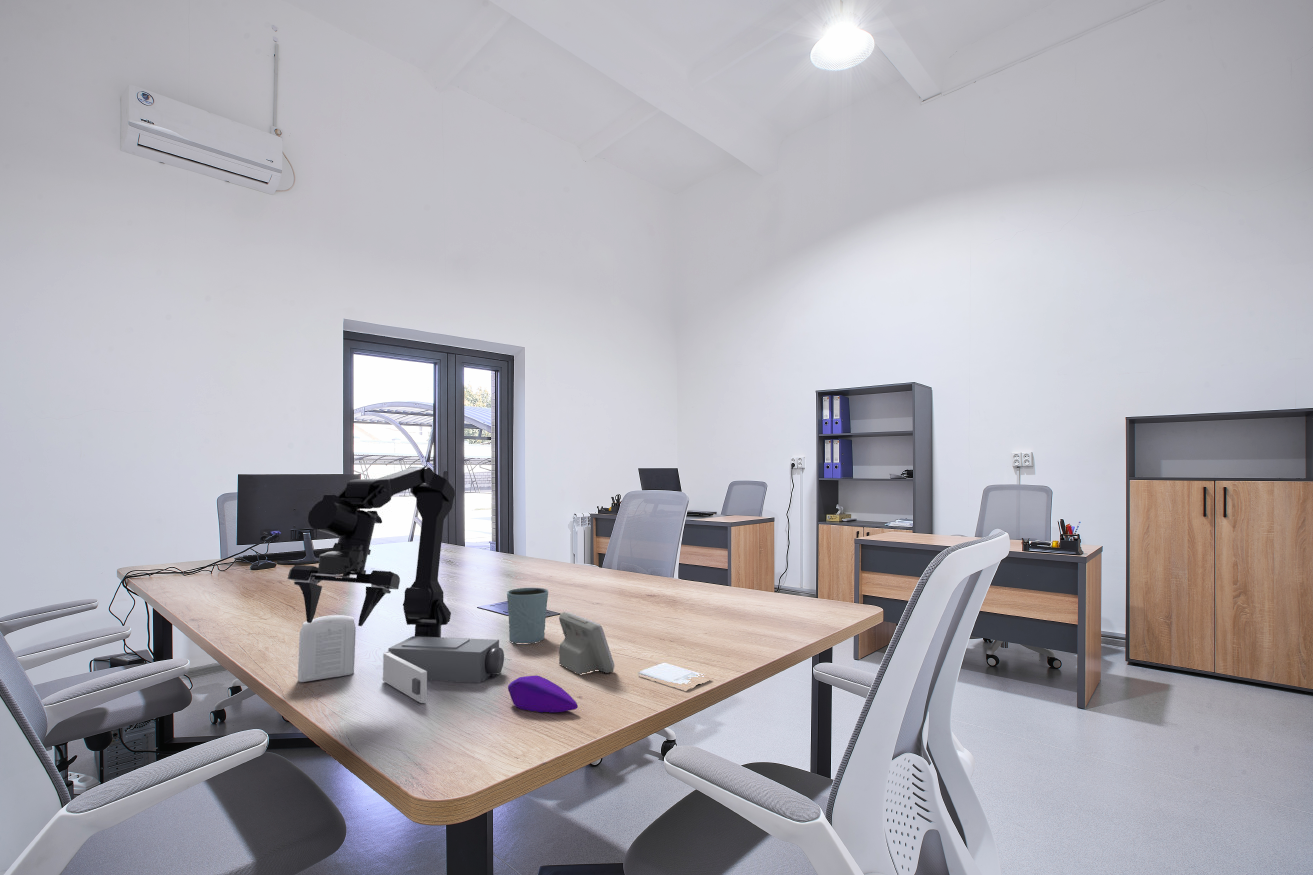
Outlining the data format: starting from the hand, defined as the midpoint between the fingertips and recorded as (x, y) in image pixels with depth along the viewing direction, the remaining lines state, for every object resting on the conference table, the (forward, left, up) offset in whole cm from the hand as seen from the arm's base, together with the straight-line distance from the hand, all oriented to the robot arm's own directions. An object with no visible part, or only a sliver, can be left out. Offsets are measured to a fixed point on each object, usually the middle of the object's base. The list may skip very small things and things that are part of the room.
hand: (334, 624), depth 112 cm
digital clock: (-25, +42, -14) cm, 50 cm away
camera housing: (-16, +13, -14) cm, 25 cm away
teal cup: (-43, +21, -14) cm, 50 cm away
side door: (-5, +11, -13) cm, 18 cm away
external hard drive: (-20, +61, -15) cm, 66 cm away
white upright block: (-11, -10, -14) cm, 20 cm away
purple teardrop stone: (-2, +40, -14) cm, 42 cm away
